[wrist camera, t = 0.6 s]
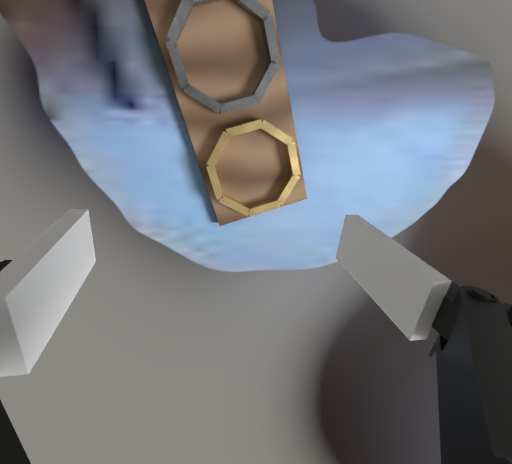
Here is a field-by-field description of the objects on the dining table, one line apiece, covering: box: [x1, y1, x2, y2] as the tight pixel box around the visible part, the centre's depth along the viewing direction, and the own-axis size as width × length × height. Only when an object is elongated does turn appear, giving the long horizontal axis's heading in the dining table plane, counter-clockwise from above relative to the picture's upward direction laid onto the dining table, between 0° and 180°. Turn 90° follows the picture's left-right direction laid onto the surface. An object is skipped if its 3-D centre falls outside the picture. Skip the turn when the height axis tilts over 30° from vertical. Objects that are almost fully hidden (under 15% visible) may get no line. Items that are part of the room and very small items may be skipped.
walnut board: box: [145, 0, 307, 226], centre depth 36 cm, size 26×13×1 cm, turn 14°
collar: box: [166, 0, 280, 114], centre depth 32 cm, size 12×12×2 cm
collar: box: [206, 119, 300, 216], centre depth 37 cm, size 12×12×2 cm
